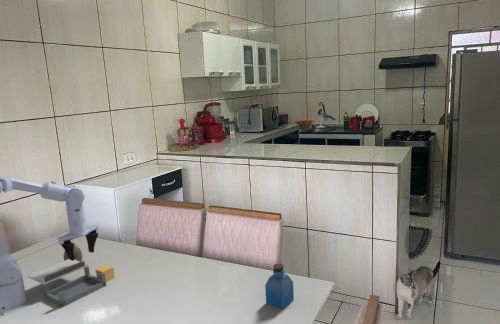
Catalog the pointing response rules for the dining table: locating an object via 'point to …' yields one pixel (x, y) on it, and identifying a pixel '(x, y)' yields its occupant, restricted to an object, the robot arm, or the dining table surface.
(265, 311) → the dining table surface
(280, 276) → the perfume bottle
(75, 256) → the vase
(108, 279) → the block
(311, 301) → the dining table surface
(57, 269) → the lid
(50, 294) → the case
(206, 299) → the dining table surface
